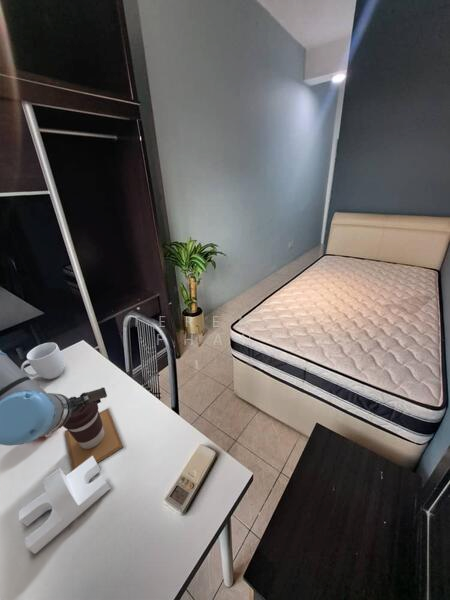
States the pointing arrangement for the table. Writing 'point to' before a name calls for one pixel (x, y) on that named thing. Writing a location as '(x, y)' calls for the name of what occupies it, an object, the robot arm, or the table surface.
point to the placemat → (101, 450)
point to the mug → (45, 361)
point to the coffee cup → (86, 426)
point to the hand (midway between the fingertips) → (69, 409)
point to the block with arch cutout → (63, 501)
